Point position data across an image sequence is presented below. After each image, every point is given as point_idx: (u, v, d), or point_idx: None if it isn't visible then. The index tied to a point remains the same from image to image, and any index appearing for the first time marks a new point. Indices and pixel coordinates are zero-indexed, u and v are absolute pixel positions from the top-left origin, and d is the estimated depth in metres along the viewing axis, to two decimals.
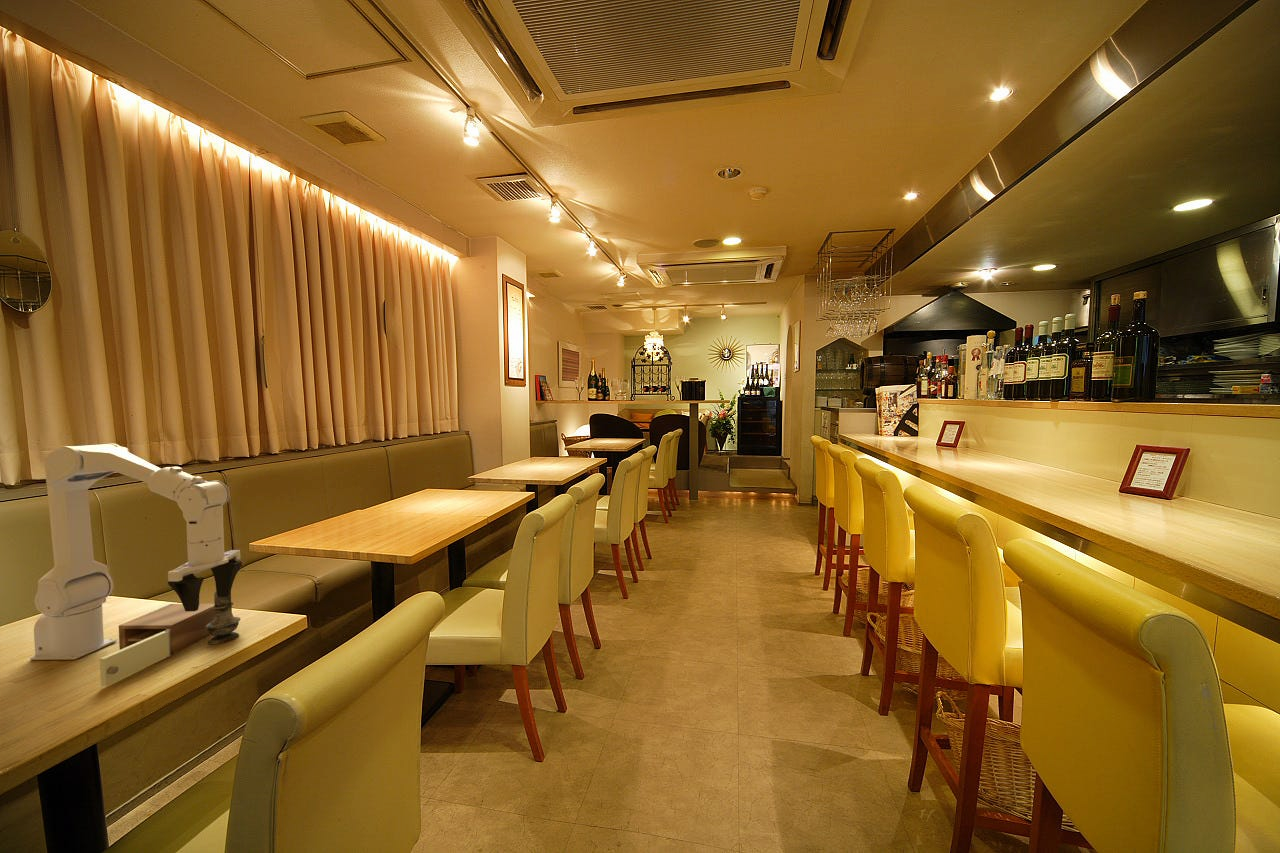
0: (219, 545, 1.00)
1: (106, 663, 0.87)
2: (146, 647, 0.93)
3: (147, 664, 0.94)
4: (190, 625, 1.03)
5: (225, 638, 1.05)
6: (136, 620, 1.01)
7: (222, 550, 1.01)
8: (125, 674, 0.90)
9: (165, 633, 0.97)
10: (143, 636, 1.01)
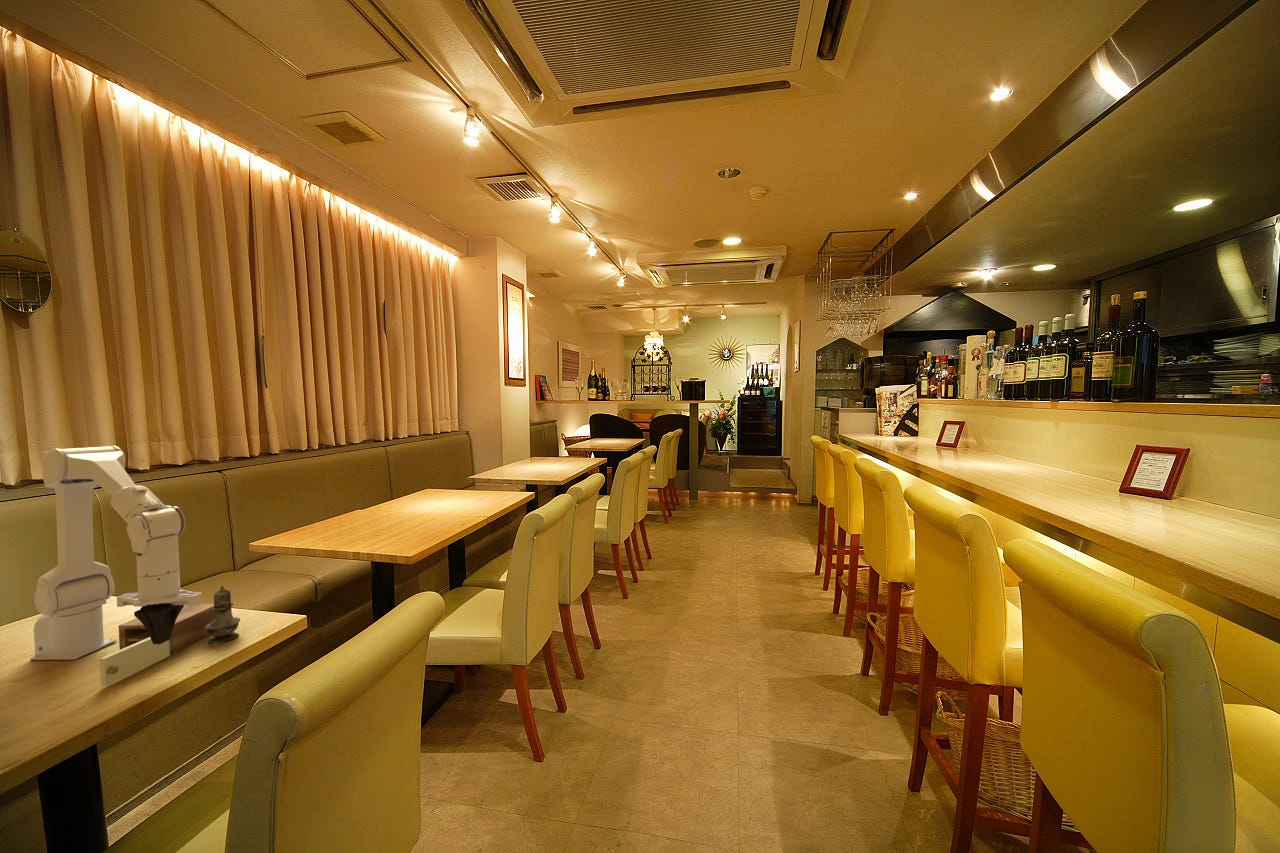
0: (143, 584, 0.88)
1: (106, 663, 0.87)
2: (146, 647, 0.93)
3: (147, 664, 0.94)
4: (190, 625, 1.03)
5: (225, 639, 1.05)
6: (136, 620, 1.01)
7: (149, 590, 0.88)
8: (125, 674, 0.90)
9: None
10: (143, 636, 1.01)
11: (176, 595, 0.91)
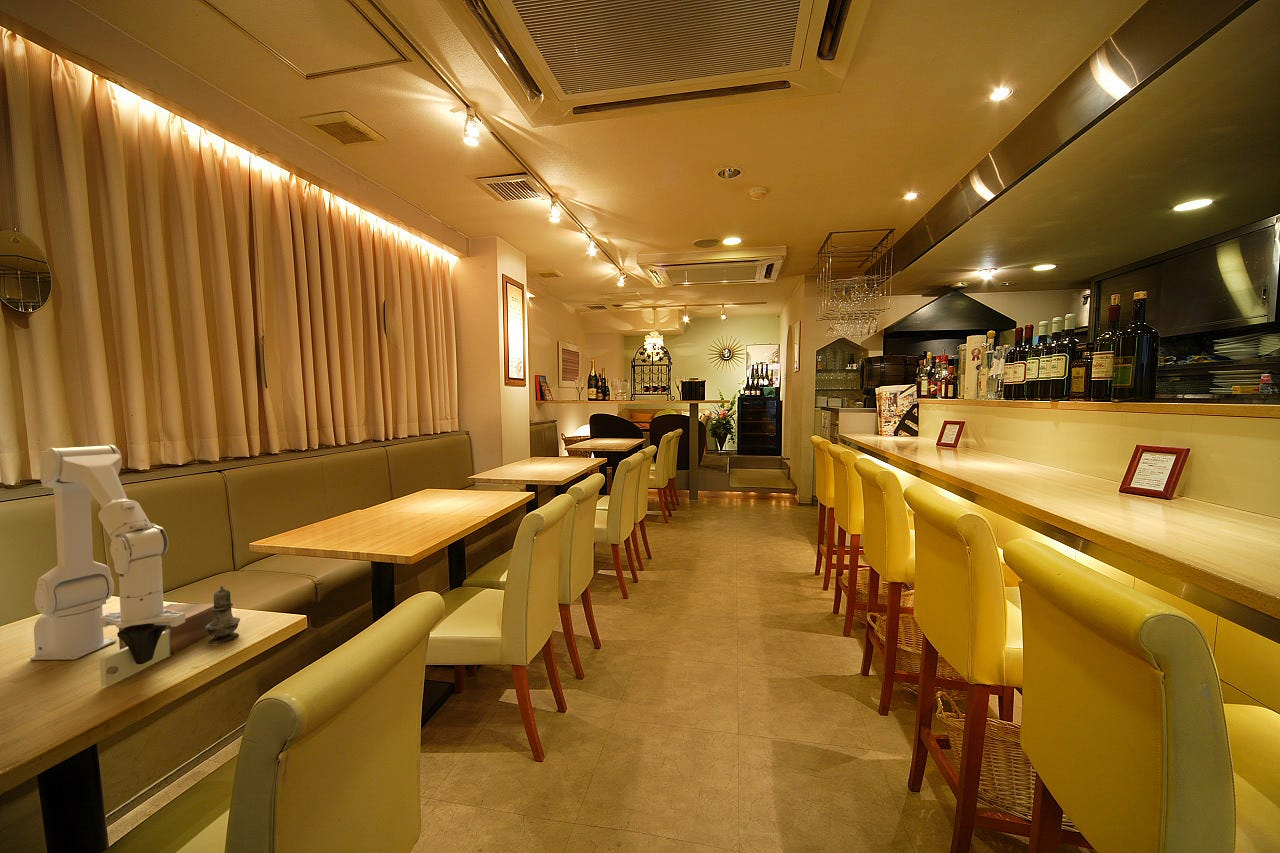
0: (125, 605, 0.88)
1: (106, 663, 0.87)
2: None
3: (147, 664, 0.94)
4: (190, 625, 1.03)
5: (225, 639, 1.05)
6: None
7: (131, 611, 0.89)
8: (125, 674, 0.90)
9: (165, 633, 0.97)
10: None
11: (159, 615, 0.91)
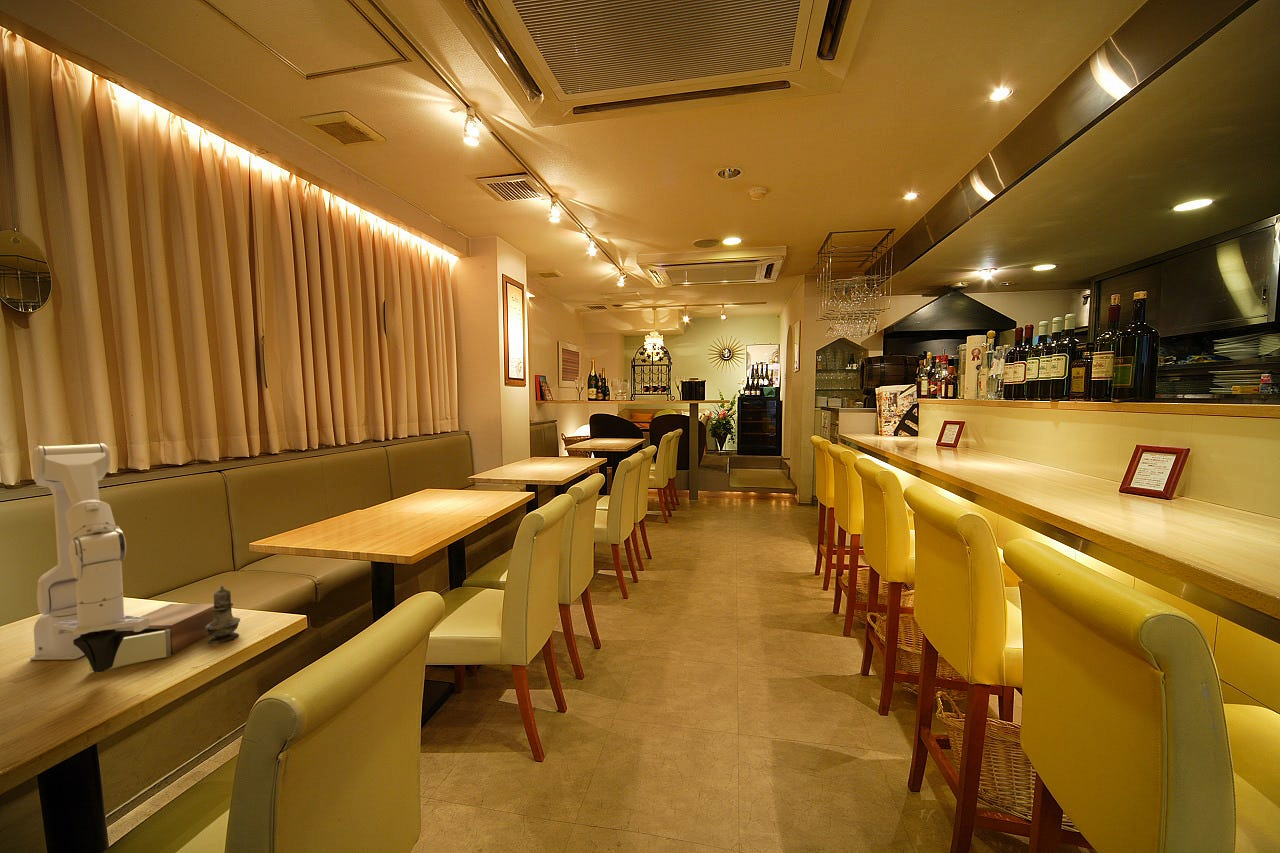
0: (83, 611, 0.85)
1: None
2: (138, 643, 0.95)
3: (138, 660, 0.95)
4: (190, 625, 1.03)
5: (225, 639, 1.05)
6: None
7: (90, 617, 0.86)
8: None
9: (161, 633, 0.97)
10: None
11: (120, 621, 0.88)
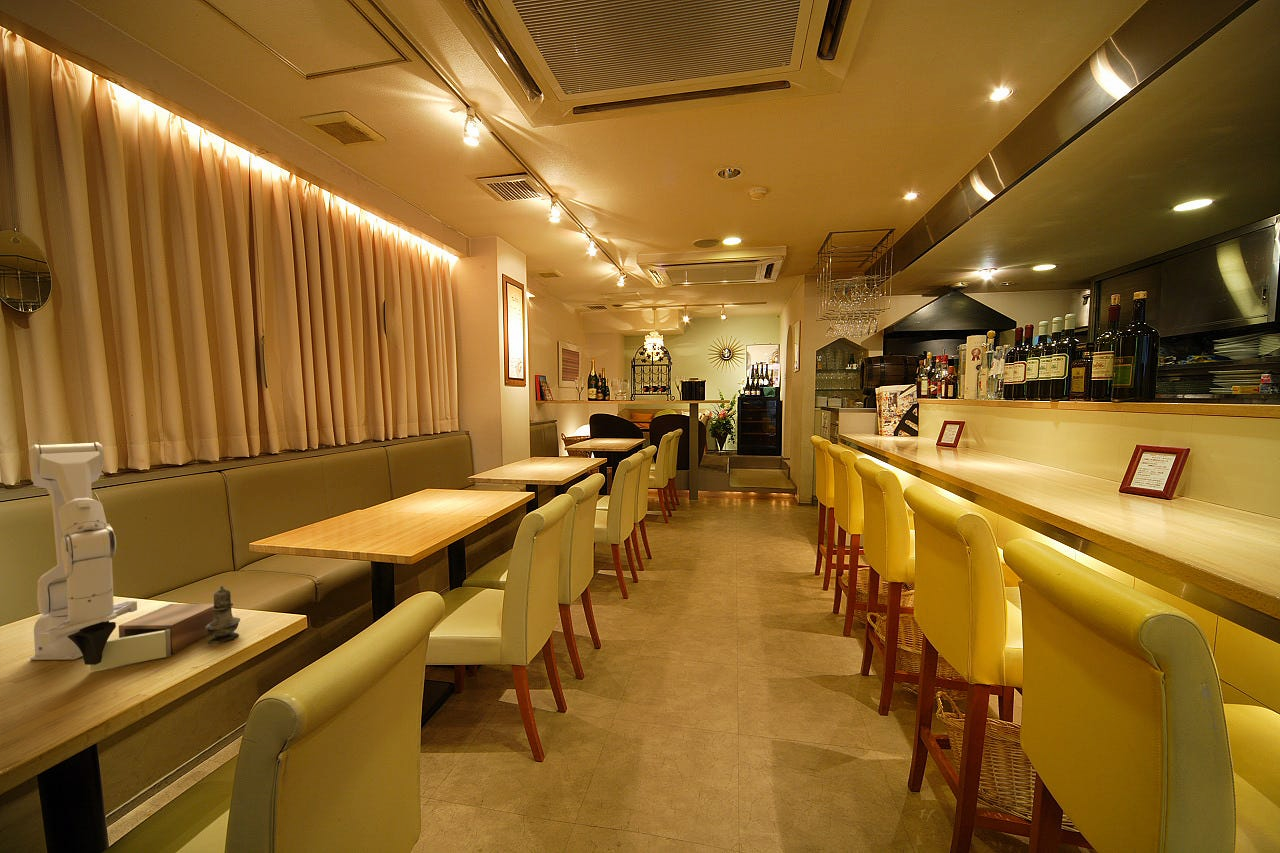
0: (105, 600, 0.91)
1: None
2: (138, 643, 0.95)
3: (138, 659, 0.95)
4: (190, 625, 1.03)
5: (225, 639, 1.05)
6: (136, 620, 1.01)
7: (110, 605, 0.91)
8: (112, 664, 0.93)
9: (161, 633, 0.97)
10: None
11: None
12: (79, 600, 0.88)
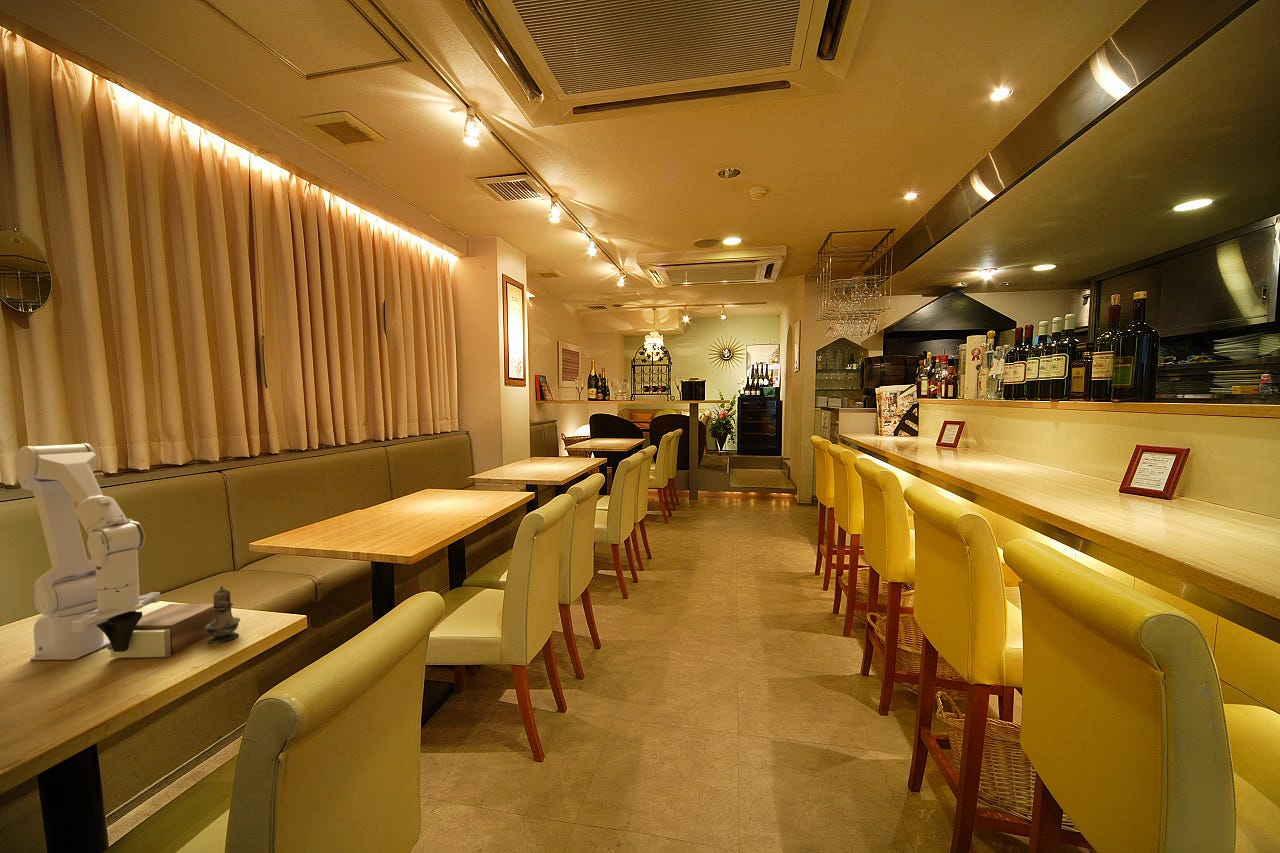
0: (132, 591, 0.95)
1: None
2: (144, 638, 0.97)
3: (144, 655, 0.97)
4: (190, 625, 1.03)
5: (225, 639, 1.05)
6: None
7: (136, 595, 0.96)
8: (125, 655, 0.97)
9: (160, 632, 0.97)
10: None
11: None
12: (108, 591, 0.93)
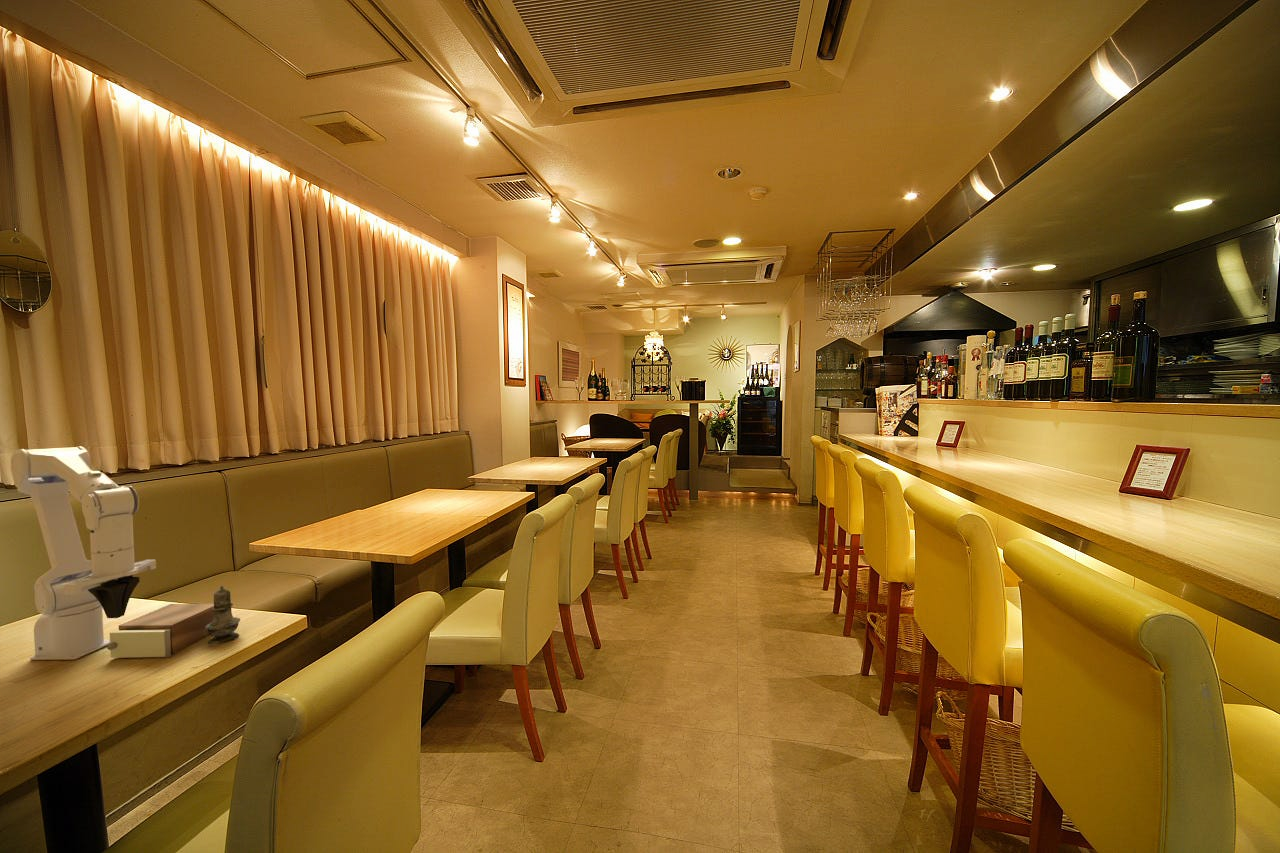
0: (126, 555, 0.94)
1: (110, 637, 0.97)
2: (144, 638, 0.97)
3: (144, 655, 0.97)
4: (190, 625, 1.03)
5: (225, 639, 1.05)
6: (136, 620, 1.01)
7: (131, 560, 0.95)
8: (125, 655, 0.97)
9: (161, 632, 0.97)
10: None
11: None
12: (102, 554, 0.91)
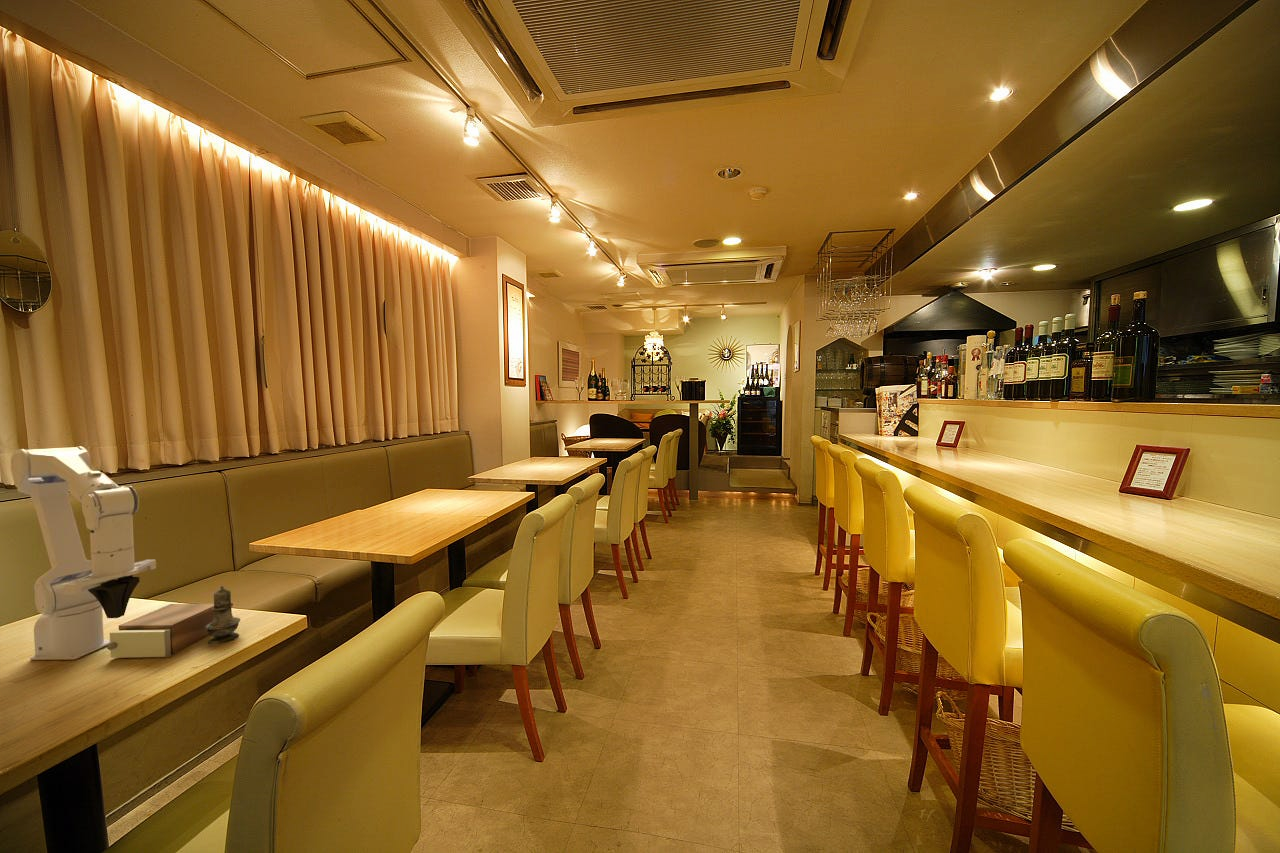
0: (126, 555, 0.94)
1: (110, 637, 0.97)
2: (144, 638, 0.97)
3: (144, 655, 0.97)
4: (190, 625, 1.03)
5: (225, 639, 1.05)
6: (136, 620, 1.01)
7: (131, 560, 0.95)
8: (125, 655, 0.97)
9: (161, 632, 0.97)
10: None
11: None
12: (102, 554, 0.91)
